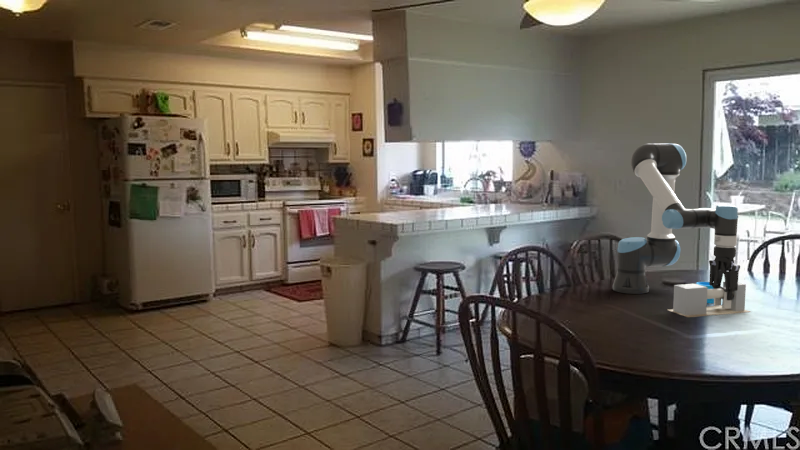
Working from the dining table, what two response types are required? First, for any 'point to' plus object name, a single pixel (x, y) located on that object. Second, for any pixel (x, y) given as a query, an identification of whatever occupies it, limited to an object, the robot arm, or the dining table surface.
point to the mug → (707, 288)
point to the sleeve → (690, 299)
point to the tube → (716, 293)
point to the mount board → (713, 311)
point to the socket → (737, 298)
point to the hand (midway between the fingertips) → (722, 306)
